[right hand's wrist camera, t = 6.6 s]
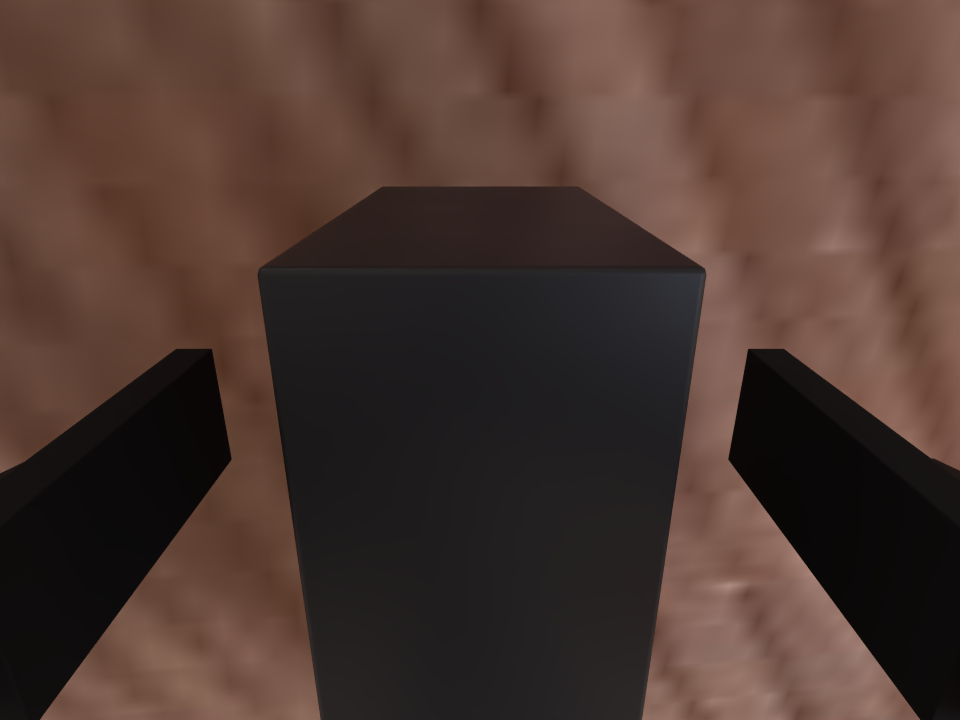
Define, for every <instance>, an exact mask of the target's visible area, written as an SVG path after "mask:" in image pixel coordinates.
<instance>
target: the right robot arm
mask: <svg viewBox="0 0 960 720" xmlns="http://www.w3.org/2000/svg"><path fill="white" fill-rule="evenodd" d="M231 460H232V459H231V453H230V448H229V442H228V436H227V431H226V425H225V420H224V414H223V409H222V403H221V397H220V392H219V386H218V381H217V375H216V370H215V364H214V358H213V353H212V349H176V350H174V351H173V352H172V353H170V354H169V355H168V356H166V357H165V358H163V359H162V360H161V361H159V362H158V363H157V364H155V365H154V366H153V367H151V368H150V369H149V370H147V371H146V372H145V373H143V374H142V375H141V376H139V377H138V378H137V379H135V380H134V381H133V382H131V383H130V384H129V385H127V386H126V387H125V388H123V389H122V390H120V391H119V392H118V393H116V394H115V395H114V396H112V397H111V398H110V399H108V400H107V401H106V402H104V403H103V404H102V405H100V406H99V407H98V408H96V409H95V410H94V411H92V412H91V413H90V414H88V415H87V416H86V417H84V418H83V419H82V420H80V421H79V422H78V423H76V424H75V425H73V426H72V427H71V428H69V429H68V430H67V431H65V432H64V433H63V434H61V435H60V436H59V437H57V438H56V439H55V440H53V441H52V442H51V443H49V444H48V445H47V446H45V447H44V448H43V449H41V450H40V451H39V452H37V453H36V454H35V455H33V456H32V457H30V458H29V459H28V460H26V461H25V462H23V463H21V464H19V465H17V466H15V467H13V468H11V469H8V470H6V471H4V472H2V473H0V720H40V719H41V717H42V716H43V714H44V713H45V712H46V710H47V709H48V708H49V706H50V705H51V704H52V702H53V701H54V700H55V698H56V697H57V695H58V694H59V693H60V691H61V690H62V689H63V687H64V686H65V685H66V683H67V682H68V681H69V679H70V678H71V677H72V675H73V674H74V672H75V671H76V670H77V668H78V667H79V666H80V664H81V663H82V662H83V660H84V659H85V658H86V656H87V655H88V653H89V652H90V651H91V649H92V648H93V647H94V645H95V644H96V643H97V641H98V640H99V639H100V637H101V636H102V634H103V633H104V632H105V630H106V629H107V628H108V626H109V625H110V624H111V622H112V621H113V620H114V618H115V617H116V616H117V614H118V613H119V611H120V610H121V609H122V607H123V606H124V605H125V603H126V602H127V601H128V599H129V598H130V597H131V595H132V594H133V592H134V591H135V590H136V588H137V587H138V586H139V584H140V583H141V582H142V580H143V579H144V578H145V576H146V575H147V574H148V572H149V571H150V569H151V568H152V567H153V565H154V564H155V563H156V561H157V560H158V559H159V557H160V556H161V555H162V553H163V552H164V550H165V549H166V548H167V546H168V545H169V544H170V542H171V541H172V540H173V538H174V537H175V536H176V534H177V533H178V532H179V530H180V529H181V527H182V526H183V525H184V523H185V522H186V521H187V519H188V518H189V517H190V515H191V514H192V513H193V511H194V510H195V508H196V507H197V506H198V504H199V503H200V502H201V500H202V499H203V498H204V496H205V495H206V494H207V492H208V491H209V489H210V488H211V487H212V485H213V484H214V483H215V481H216V480H217V479H218V477H219V476H220V475H221V473H222V472H223V471H224V469H225V468H226V466H227V465H228V464H229V462H230V461H231ZM728 460H729V461H730V462H731V464H732V465H733V466H734V468H735V469H736V471H737V472H738V473H739V475H740V476H741V477H742V479H743V480H744V481H745V483H746V484H747V485H748V487H749V488H750V489H751V491H752V492H753V494H754V495H755V496H756V498H757V499H758V500H759V502H760V503H761V504H762V506H763V507H764V508H765V510H766V511H767V513H768V514H769V515H770V517H771V518H772V519H773V521H774V522H775V523H776V525H777V526H778V527H779V529H780V530H781V531H782V533H783V534H784V536H785V537H786V538H787V540H788V541H789V542H790V544H791V545H792V546H793V548H794V549H795V550H796V552H797V553H798V555H799V556H800V557H801V559H802V560H803V561H804V563H805V564H806V565H807V567H808V568H809V569H810V571H811V572H812V573H813V575H814V576H815V578H816V579H817V580H818V582H819V583H820V584H821V586H822V587H823V588H824V590H825V591H826V592H827V594H828V595H829V597H830V598H831V599H832V601H833V602H834V603H835V605H836V606H837V607H838V609H839V610H840V611H841V613H842V614H843V616H844V617H845V618H846V620H847V621H848V622H849V624H850V625H851V626H852V628H853V629H854V630H855V632H856V633H857V634H858V636H859V637H860V639H861V640H862V641H863V643H864V644H865V645H866V647H867V648H868V649H869V651H870V652H871V653H872V655H873V656H874V658H875V659H876V660H877V662H878V663H879V664H880V666H881V667H882V668H883V670H884V671H885V672H886V674H887V675H888V676H889V678H890V679H891V681H892V682H893V683H894V685H895V686H896V687H897V689H898V690H899V691H900V693H901V694H902V695H903V697H904V698H905V700H906V701H907V702H908V704H909V705H910V706H911V708H912V709H913V710H914V712H915V713H916V714H917V716H918V717H919V718H920V720H960V471H959V470H957V469H955V468H953V467H951V466H948V465H946V464H944V463H942V462H940V461H938V460H936V459H931V458H930V457H928V456H927V455H926V454H924V453H923V452H921V451H920V450H919V449H917V448H916V447H915V446H913V445H912V444H911V443H909V442H908V441H907V440H905V439H904V438H903V437H901V436H900V435H899V434H897V433H896V432H895V431H893V430H892V429H891V428H889V427H888V426H887V425H885V424H884V423H883V422H881V421H880V420H878V419H877V418H876V417H874V416H873V415H872V414H870V413H869V412H868V411H866V410H865V409H864V408H862V407H861V406H860V405H858V404H857V403H856V402H854V401H853V400H852V399H850V398H849V397H848V396H846V395H845V394H844V393H842V392H841V391H840V390H838V389H837V388H835V387H834V386H833V385H831V384H830V383H829V382H827V381H826V380H825V379H823V378H822V377H821V376H819V375H818V374H817V373H815V372H814V371H813V370H811V369H810V368H809V367H807V366H806V365H805V364H803V363H802V362H801V361H799V360H798V359H797V358H795V357H794V356H792V355H791V354H790V353H788V352H787V351H786V350H784V349H748V353H747V358H746V364H745V370H744V375H743V381H742V386H741V392H740V397H739V403H738V409H737V414H736V420H735V425H734V431H733V436H732V442H731V448H730V453H729V459H728Z"/></svg>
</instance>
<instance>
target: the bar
mask: <svg viewBox="0 0 960 720" xmlns="http://www.w3.org/2000/svg"><path fill="white" fill-rule="evenodd" d="M705 280H706V272H705V268H703V267H702V266H700V265H699V264H697V263H695V262H694V261H692V260H691V259H689V258H688V257H686V256H685V255H683V254H682V253H680V252H678V251H677V250H675V249H674V248H672V247H671V246H669V245H668V244H666V243H665V242H663V241H662V240H660V239H658V238H657V237H655V236H654V235H652V234H651V233H649V232H648V231H646V230H645V229H643V228H641V227H640V226H638V225H637V224H635V223H634V222H632V221H631V220H629V219H628V218H626V217H625V216H623V215H621V214H620V213H618V212H617V211H615V210H614V209H612V208H611V207H609V206H608V205H606V204H605V203H603V202H601V201H600V200H598V199H597V198H595V197H594V196H592V195H591V194H589V193H588V192H586V191H584V190H583V189H581V188H580V187H381V188H380V189H378V190H377V191H375V192H374V193H372V194H371V195H369V196H368V197H366V198H365V199H363V200H362V201H360V202H359V203H357V204H356V205H354V206H353V207H351V208H350V209H348V210H347V211H345V212H344V213H342V214H341V215H339V216H338V217H336V218H335V219H333V220H332V221H330V222H329V223H327V224H326V225H324V226H323V227H321V228H320V229H318V230H317V231H315V232H314V233H312V234H311V235H309V236H308V237H306V238H304V239H303V240H301V241H300V242H298V243H297V244H295V245H294V246H292V247H291V248H289V249H288V250H286V251H285V252H283V253H282V254H280V255H279V256H277V257H276V258H274V259H273V260H271V261H270V262H268V263H267V264H265V265H264V266H262V267H261V268H259V271H258V281H259V288H260V295H261V302H262V309H263V316H264V323H265V330H266V337H267V344H268V351H269V359H270V366H271V373H272V380H273V387H274V394H275V401H276V408H277V415H278V422H279V429H280V436H281V443H282V450H283V457H284V464H285V471H286V478H287V485H288V492H289V499H290V506H291V513H292V520H293V527H294V534H295V541H296V548H297V555H298V562H299V570H300V577H301V584H302V591H303V598H304V605H305V612H306V619H307V626H308V633H309V640H310V647H311V654H312V661H313V668H314V675H315V682H316V689H317V696H318V703H319V710H320V717H321V720H642V716H643V709H644V702H645V695H646V688H647V681H648V674H649V667H650V660H651V653H652V646H653V639H654V633H655V626H656V619H657V612H658V605H659V598H660V591H661V584H662V577H663V570H664V563H665V557H666V550H667V543H668V536H669V529H670V522H671V515H672V508H673V501H674V494H675V487H676V480H677V474H678V467H679V460H680V453H681V446H682V439H683V432H684V425H685V418H686V411H687V404H688V397H689V391H690V384H691V377H692V370H693V363H694V356H695V349H696V342H697V335H698V328H699V321H700V314H701V308H702V301H703V294H704V287H705Z"/></svg>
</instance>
